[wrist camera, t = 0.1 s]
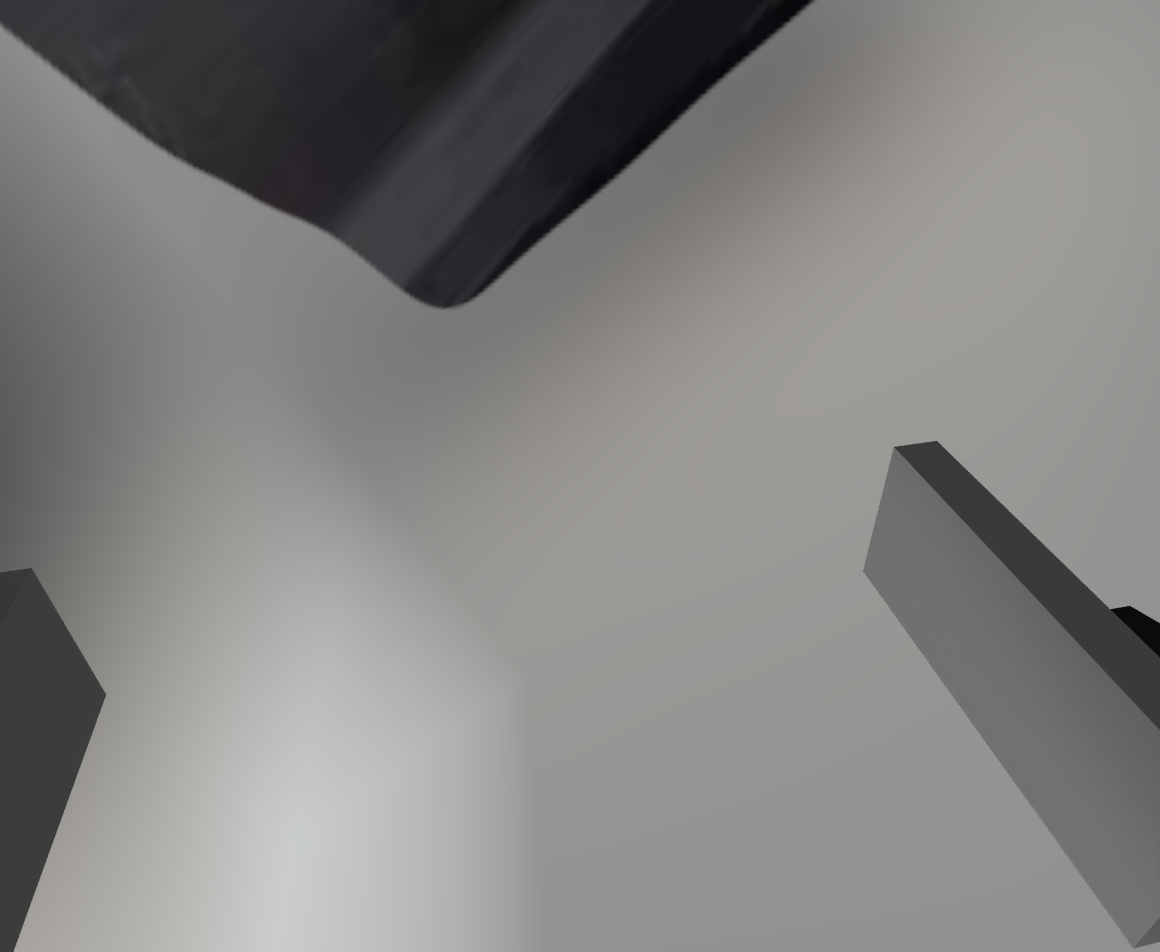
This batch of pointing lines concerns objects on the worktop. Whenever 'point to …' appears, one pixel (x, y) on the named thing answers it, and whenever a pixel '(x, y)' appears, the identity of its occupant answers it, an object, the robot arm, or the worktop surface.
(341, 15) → the worktop surface
